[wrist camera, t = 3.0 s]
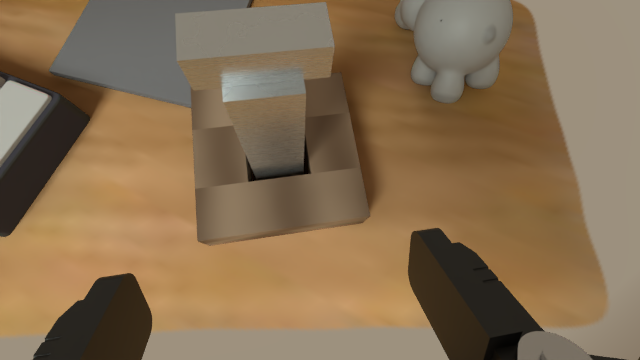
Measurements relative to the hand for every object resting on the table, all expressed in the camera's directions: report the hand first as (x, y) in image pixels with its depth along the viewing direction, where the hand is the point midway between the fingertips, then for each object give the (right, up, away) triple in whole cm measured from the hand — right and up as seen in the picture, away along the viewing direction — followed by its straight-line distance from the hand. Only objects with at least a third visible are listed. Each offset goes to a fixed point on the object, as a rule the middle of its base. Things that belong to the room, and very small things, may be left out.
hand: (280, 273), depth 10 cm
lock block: (-2, +4, +17) cm, 18 cm away
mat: (-14, +17, +21) cm, 30 cm away
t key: (-2, +4, +17) cm, 18 cm away
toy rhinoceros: (+11, +15, +22) cm, 29 cm away
